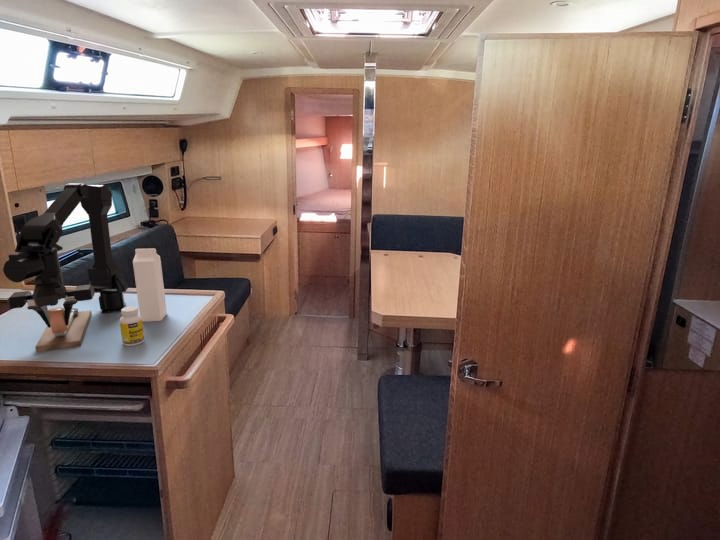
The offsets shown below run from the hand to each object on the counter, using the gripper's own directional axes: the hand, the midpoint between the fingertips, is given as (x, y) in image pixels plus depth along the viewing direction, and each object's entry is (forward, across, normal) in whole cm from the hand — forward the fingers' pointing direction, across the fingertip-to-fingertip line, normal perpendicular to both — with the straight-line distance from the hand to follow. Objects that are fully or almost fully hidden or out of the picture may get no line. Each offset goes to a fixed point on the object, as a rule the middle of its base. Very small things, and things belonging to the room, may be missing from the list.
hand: (58, 326), depth 124 cm
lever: (+3, 0, +8) cm, 8 cm away
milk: (+5, +23, +9) cm, 25 cm away
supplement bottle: (+5, +18, -8) cm, 20 cm away
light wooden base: (+4, 0, +7) cm, 8 cm away
